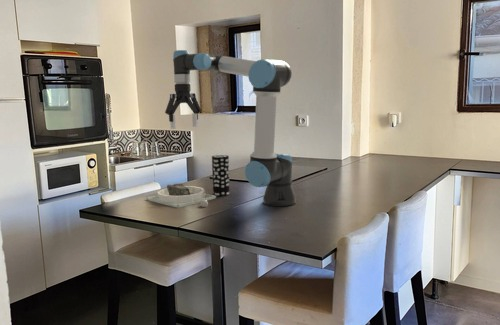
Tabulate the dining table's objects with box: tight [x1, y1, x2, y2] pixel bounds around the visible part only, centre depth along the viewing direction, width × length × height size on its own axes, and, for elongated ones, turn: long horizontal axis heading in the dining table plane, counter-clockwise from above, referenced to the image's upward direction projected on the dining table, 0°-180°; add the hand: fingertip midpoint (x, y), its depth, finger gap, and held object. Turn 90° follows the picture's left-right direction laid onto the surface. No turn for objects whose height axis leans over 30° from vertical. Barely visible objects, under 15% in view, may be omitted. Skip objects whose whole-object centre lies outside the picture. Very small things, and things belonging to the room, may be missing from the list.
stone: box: [166, 183, 190, 196], centre depth 222 cm, size 14×7×10 cm, turn 51°
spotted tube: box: [211, 154, 231, 197], centre depth 229 cm, size 8×8×20 cm
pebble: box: [199, 200, 209, 208], centre depth 207 cm, size 4×4×4 cm
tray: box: [146, 193, 217, 209], centre depth 222 cm, size 24×23×2 cm
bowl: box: [156, 185, 206, 205], centre depth 222 cm, size 22×22×4 cm
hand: (184, 127), depth 224 cm, fingers open, 13 cm apart
